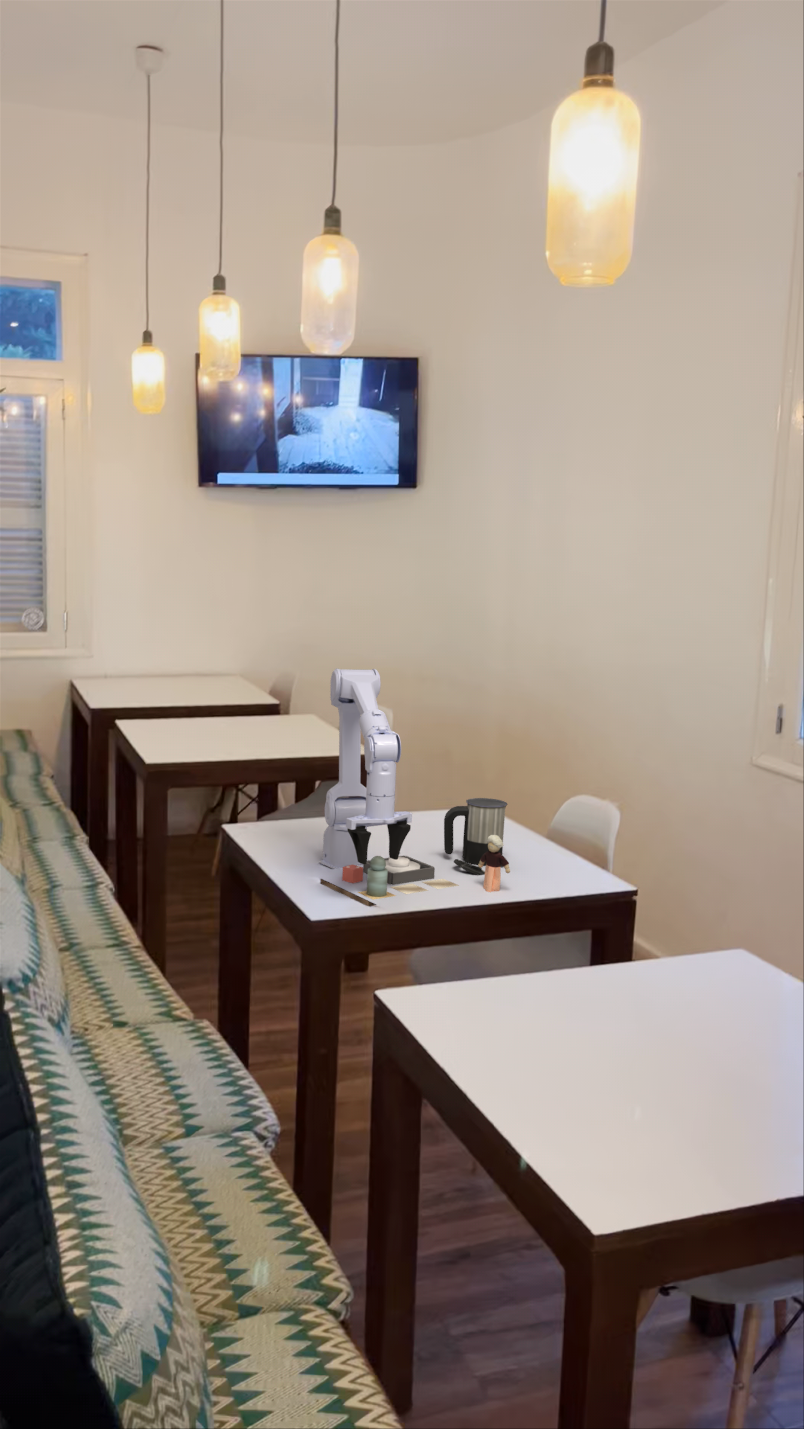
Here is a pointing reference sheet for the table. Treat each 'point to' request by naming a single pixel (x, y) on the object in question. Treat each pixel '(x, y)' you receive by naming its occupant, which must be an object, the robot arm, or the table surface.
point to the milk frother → (475, 830)
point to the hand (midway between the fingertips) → (377, 860)
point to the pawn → (377, 877)
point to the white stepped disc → (401, 865)
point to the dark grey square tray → (407, 873)
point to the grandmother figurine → (493, 864)
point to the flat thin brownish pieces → (402, 888)
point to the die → (352, 874)
